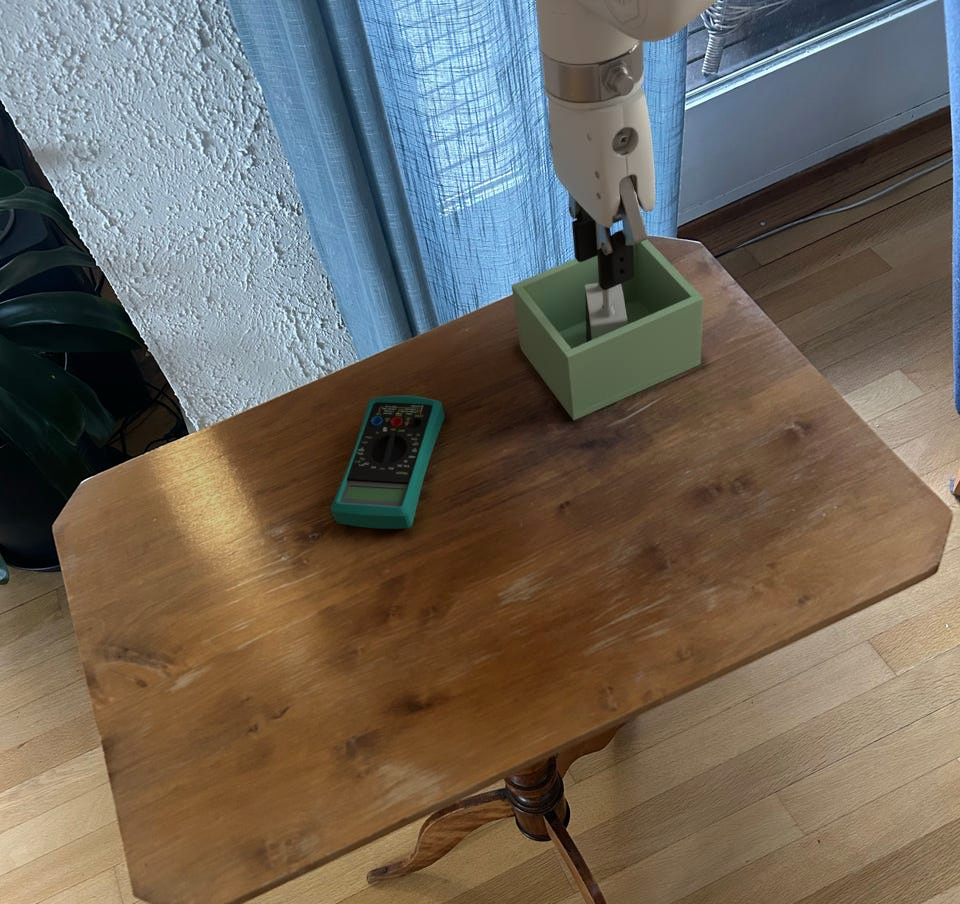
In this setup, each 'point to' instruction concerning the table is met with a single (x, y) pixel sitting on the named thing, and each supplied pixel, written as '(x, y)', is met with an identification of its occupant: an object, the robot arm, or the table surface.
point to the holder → (618, 354)
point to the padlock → (603, 307)
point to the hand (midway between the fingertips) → (604, 267)
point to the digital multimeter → (389, 462)
